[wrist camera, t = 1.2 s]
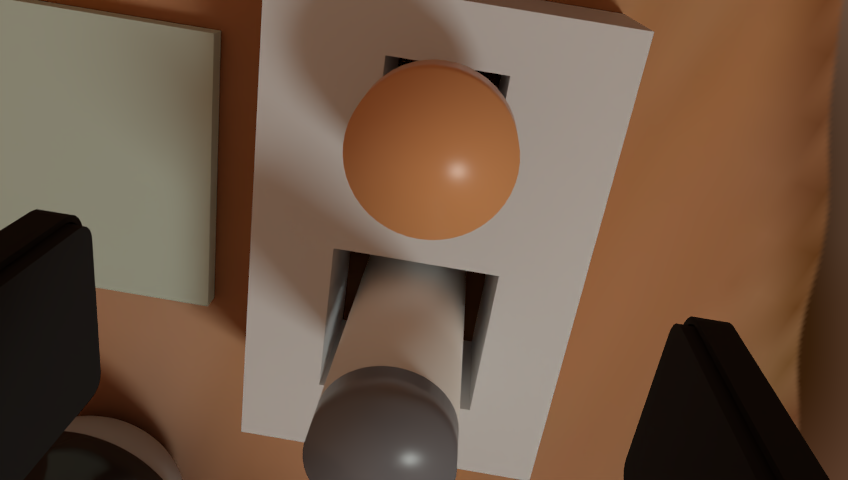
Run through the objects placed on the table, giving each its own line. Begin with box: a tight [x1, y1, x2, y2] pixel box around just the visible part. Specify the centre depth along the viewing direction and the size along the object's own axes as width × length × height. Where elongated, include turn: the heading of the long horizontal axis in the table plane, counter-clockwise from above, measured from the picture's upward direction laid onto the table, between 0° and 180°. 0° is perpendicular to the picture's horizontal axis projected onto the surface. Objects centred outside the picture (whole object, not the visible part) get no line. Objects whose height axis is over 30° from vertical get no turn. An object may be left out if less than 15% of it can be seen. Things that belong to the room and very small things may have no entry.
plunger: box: [343, 59, 520, 240], centre depth 22 cm, size 5×5×6 cm
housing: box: [241, 0, 654, 480], centre depth 27 cm, size 18×12×5 cm, turn 172°
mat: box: [0, 0, 221, 306], centre depth 29 cm, size 12×10×1 cm
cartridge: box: [303, 254, 466, 480], centre depth 25 cm, size 4×4×12 cm
